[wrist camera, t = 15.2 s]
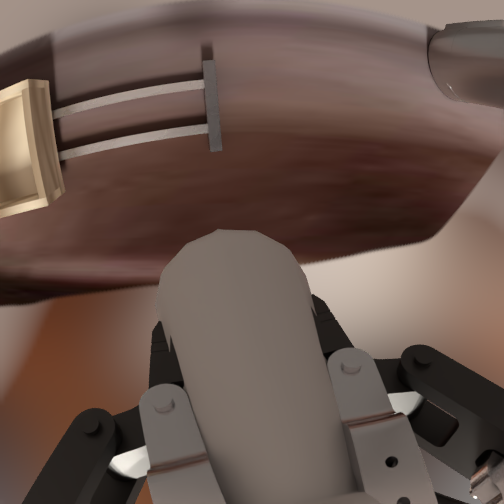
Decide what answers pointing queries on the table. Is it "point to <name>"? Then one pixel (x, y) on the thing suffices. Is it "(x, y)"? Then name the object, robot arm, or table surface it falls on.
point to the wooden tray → (27, 149)
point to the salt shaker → (256, 371)
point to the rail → (211, 128)
